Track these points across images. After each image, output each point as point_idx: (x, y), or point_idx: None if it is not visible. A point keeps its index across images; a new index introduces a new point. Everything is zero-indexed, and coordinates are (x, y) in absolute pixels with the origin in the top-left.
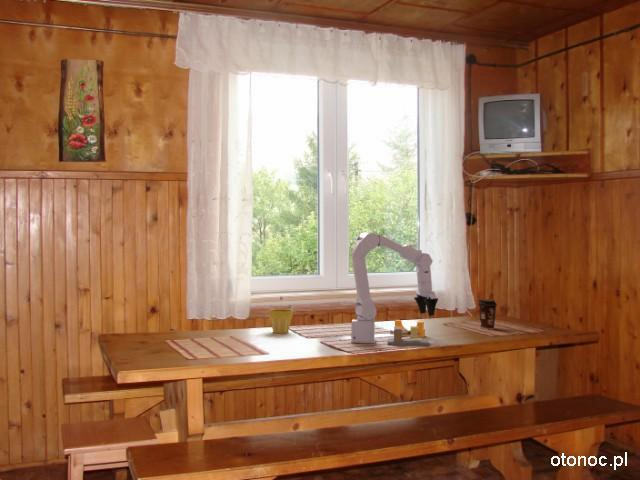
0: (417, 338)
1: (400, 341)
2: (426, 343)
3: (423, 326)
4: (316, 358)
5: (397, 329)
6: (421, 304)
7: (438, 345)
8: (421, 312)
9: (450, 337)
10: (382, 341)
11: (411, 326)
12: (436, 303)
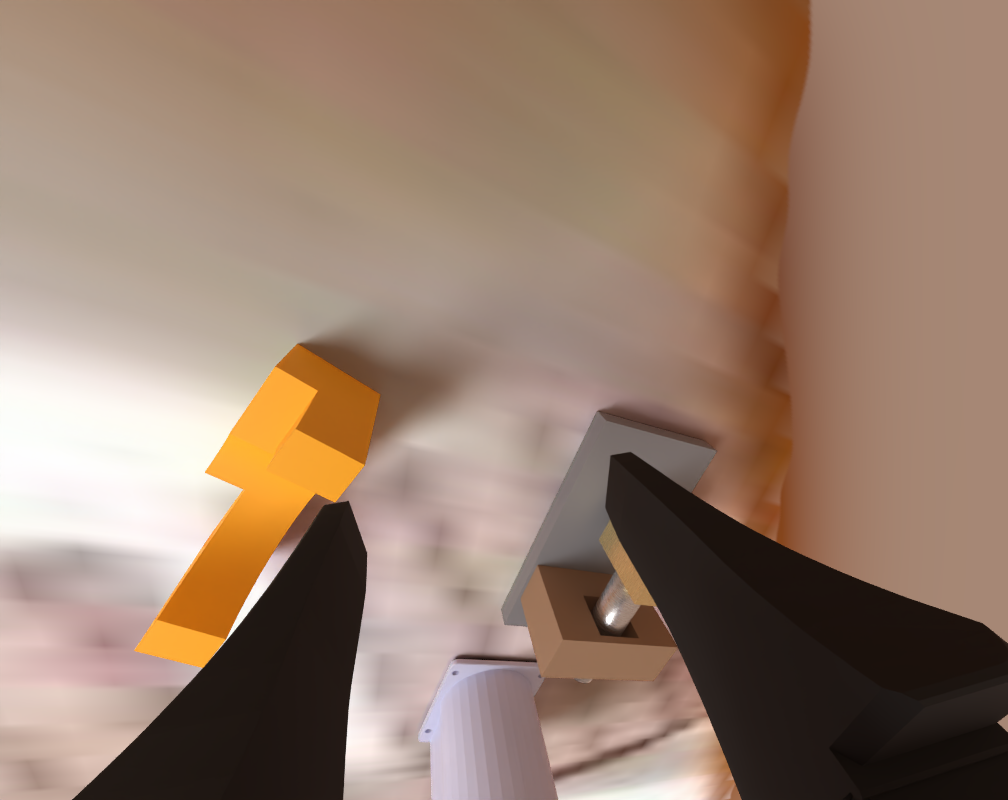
0: None
1: None
2: (706, 459)
3: (319, 409)
4: (729, 776)
5: (664, 664)
6: (331, 700)
7: (714, 377)
8: (363, 563)
9: (401, 103)
10: (495, 630)
11: (644, 599)
12: (841, 572)
